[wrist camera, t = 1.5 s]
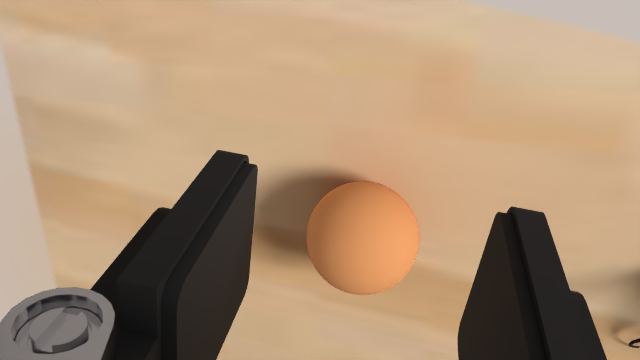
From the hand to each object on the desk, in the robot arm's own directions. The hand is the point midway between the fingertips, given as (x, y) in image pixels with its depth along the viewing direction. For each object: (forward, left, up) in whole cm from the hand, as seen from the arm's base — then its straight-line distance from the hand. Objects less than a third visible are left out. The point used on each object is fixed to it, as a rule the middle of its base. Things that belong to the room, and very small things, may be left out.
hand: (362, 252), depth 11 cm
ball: (0, +10, -15) cm, 17 cm away
